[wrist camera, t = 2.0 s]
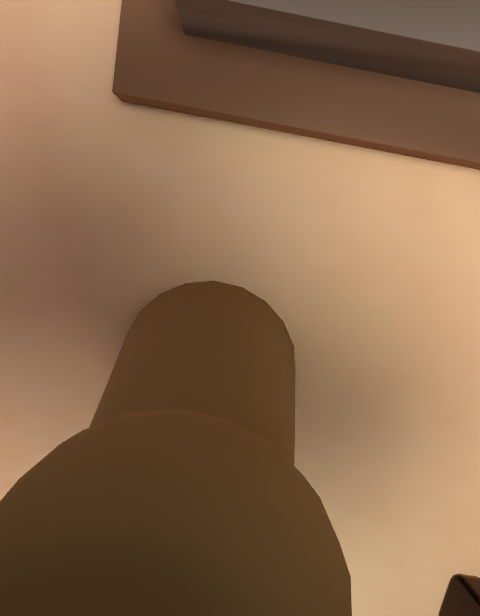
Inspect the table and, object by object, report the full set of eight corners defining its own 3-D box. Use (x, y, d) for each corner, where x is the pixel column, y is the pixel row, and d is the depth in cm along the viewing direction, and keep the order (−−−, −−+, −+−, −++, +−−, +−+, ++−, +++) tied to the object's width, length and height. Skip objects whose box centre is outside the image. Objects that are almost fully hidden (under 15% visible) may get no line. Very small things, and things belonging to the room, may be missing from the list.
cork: (87, 339, 15) (-310, 675, 4) (236, 246, 14) (227, 357, 3) (184, 472, 16) (70, 1007, 5) (326, 392, 15) (531, 820, 5)
